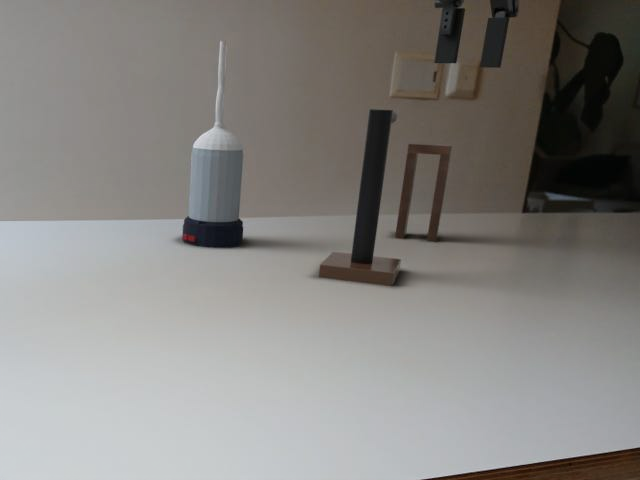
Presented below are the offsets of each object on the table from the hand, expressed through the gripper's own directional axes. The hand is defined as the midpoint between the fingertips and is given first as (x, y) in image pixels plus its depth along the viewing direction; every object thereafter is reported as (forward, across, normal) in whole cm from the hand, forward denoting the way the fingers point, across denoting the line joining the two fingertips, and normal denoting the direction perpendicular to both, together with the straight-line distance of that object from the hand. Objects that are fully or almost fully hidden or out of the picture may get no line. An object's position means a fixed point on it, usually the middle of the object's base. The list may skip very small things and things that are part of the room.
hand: (468, 65), depth 102 cm
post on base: (+24, +29, +5) cm, 38 cm away
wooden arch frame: (+24, +5, -1) cm, 24 cm away
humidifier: (+24, +32, -16) cm, 43 cm away
